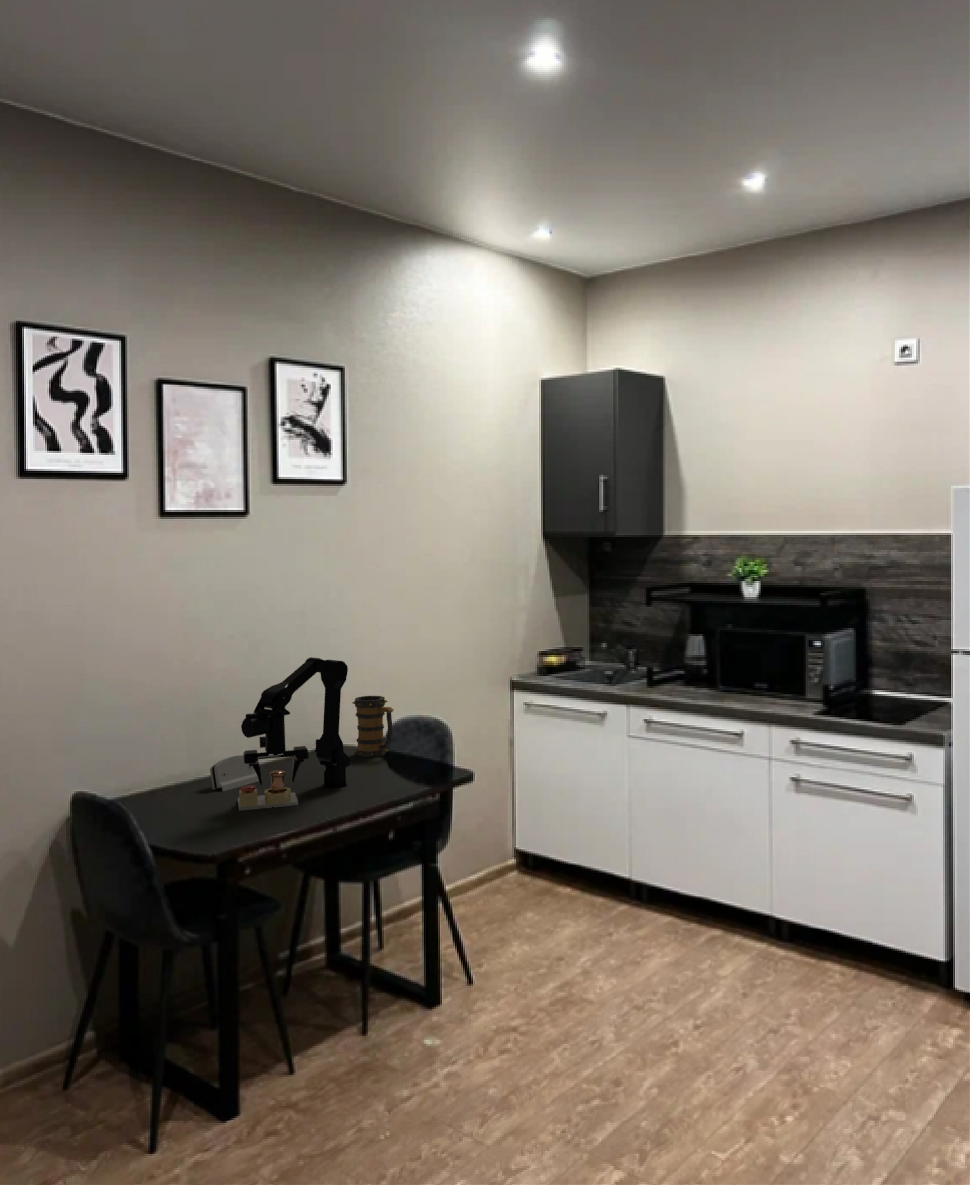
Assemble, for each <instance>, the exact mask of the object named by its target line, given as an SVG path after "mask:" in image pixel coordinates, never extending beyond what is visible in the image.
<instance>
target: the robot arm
mask: <svg viewBox="0 0 970 1185" xmlns="http://www.w3.org/2000/svg"><path fill="white" fill-rule="evenodd" d="M348 670H349V667H348V665H347V664H346V663H345V661H343V660H336V659H322V658H320V657H309V658H308V657H307V658H306V660H305V662H303V663H302V664H301V665H300V666H299V667H298V668H296V669H295V670H294V671H293V672H292V673H291V674H289V676H287V677H285V679H284V680H282V681H281V682H279V683H277V684H273V685H271V686H269V687H267V688H265V689H264V690H263V691H262V692H261V694H260V698H259V700H258V702H257V704H256V706H255V709H254V710H253V713H246V714H245V718H244V719H243V720H242V721H241V725H240V727H241V733H242V735H243V736H244V737H246V738H247V739H248V738H249V739H250V738H254V737H259V749H264V750H265V752H258V750H257V749H252V750H244V752H243V755H242V756H244V764H249V766H253V768H254V770H255V772H256V774H257V776H258V779H259V781H258V782H259V784H260V785H261V786H262V785H263V777H262V778H261V776H262V773H261V766H260V762H259V760H265V759H278V758H290V757H291V758H292V767H291V768H292V769H291V783H294V781H295V778H296V776H297V772H298V769H299V767H300V765H301V764H302V763H304V762H305V760H308V759H309V750H308V747H307V746H303V745H301V746H293V749H291V750H286V749H287V748H286V726H285V725H286V724H285V722H286V721H285V716H289V715H291V711H289V710H287V709H286V707H287V705H288V704H289V703H290V702H291V701H292V697H293V695H294V694H295V693H296V691H297V690H298V689H300V688H301V687H302V686H303V685H305V683H307V682H308V681H309V680H310V679H311V678H312V677H314V676H315V675H316V674H317V673H319V674H320V681H321V682H322V684H323V687H324V703H323V704H324V705H323V707H324V708H323V722H322V723H323V726H322V727H323V728H322V734H321V737H319V739H318V738H317V739H315V749H314V753H315V755H316V758H317V759H318V761H319V763H320V764H319V765H320V766H324V769H323V770H322V782H323V784H324V786H325V788H327V789H328V788H336V787H337V788H339V787H347V786H348V784H347V775H346V774H347V773H346V772H347V770H346V768H348V767H350V764H351V757H349V756H348V755H347V754H346V753H345V752H344V750H345V749H344V742H343V740H342V738H341V736H340V719H341V718H340V716H341V697H342V688H343V686H344V684H345V683H346V681H347V676H348V672H349V671H348ZM262 735H264V736H262Z"/></svg>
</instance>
